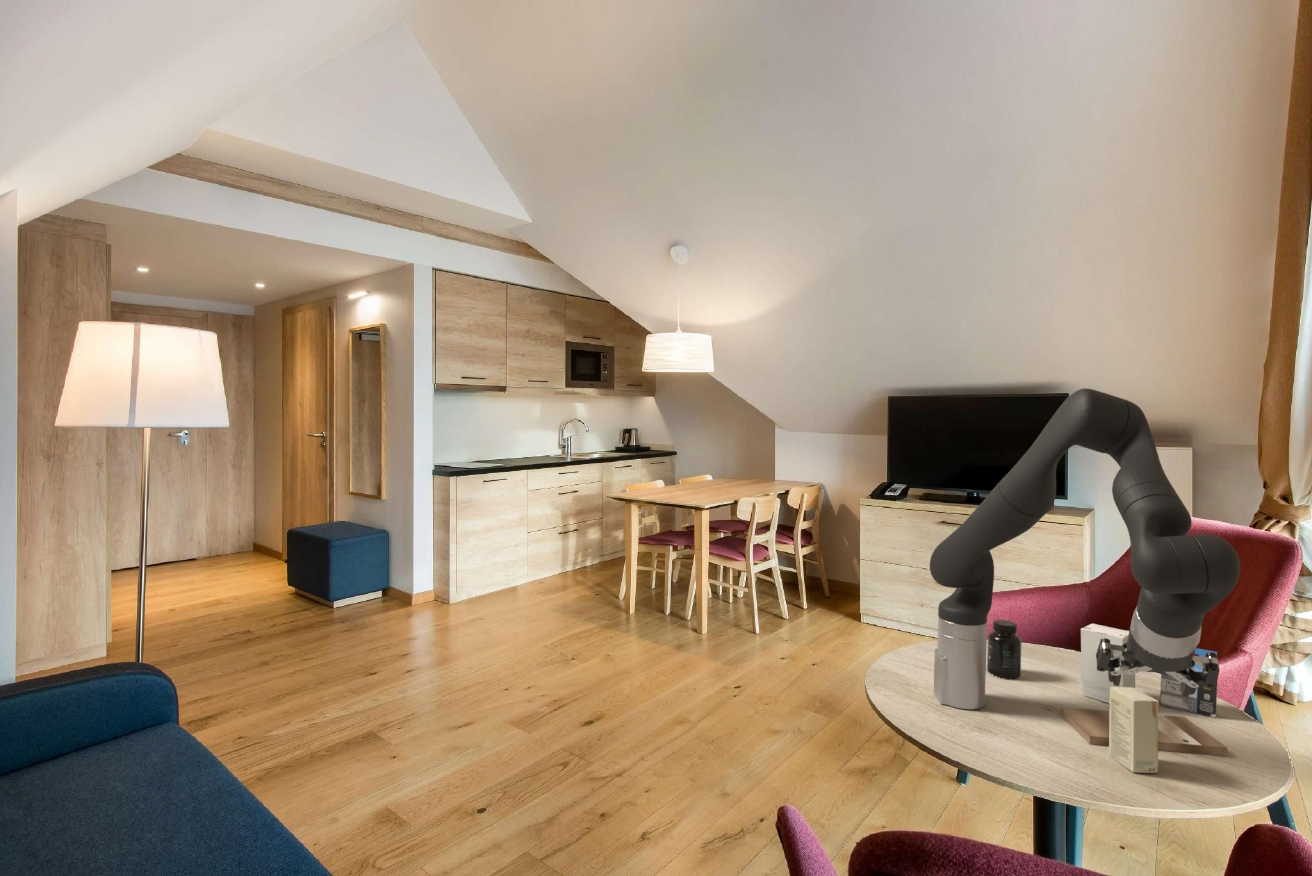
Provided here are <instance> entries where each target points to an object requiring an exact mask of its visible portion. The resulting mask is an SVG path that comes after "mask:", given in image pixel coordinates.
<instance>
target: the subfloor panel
mask: <svg viewBox="0 0 1312 876" xmlns="http://www.w3.org/2000/svg"><path fill="white" fill-rule="evenodd" d="M1060 716H1062V718H1063V719H1064V720H1065V721H1066V722H1067V723H1069V725H1070V726H1071V727H1072V728H1073V730H1075V731H1076V732H1077V733H1078V734H1079V735H1080V736H1081V737H1082V738H1083V739H1084V740H1085V741H1086V743H1088V744H1089V745H1095V746H1108V747H1109V710H1101V709H1093V708H1092V709H1090V708H1089V709H1088V708H1080V707H1079V708H1077V707H1076V708H1075V707H1067V706H1066V707H1063V706H1060ZM1158 751H1165V752H1175V753H1176V752H1177V753H1187V754H1199V755H1200V754H1201V755H1209V754H1212V755H1211V756H1220V755H1227V756H1228V747H1227V746H1226V745H1224V744H1223V743H1222V742H1220V741H1218V739H1216V738H1215V737H1213V736H1212V735H1210V734H1209V733H1208V732H1206V731H1205V730H1203V729H1202V728H1201V727H1200V726H1198V725H1196V724H1195V723H1194V722H1193V721H1192V720H1190V719H1188V718H1187V717H1185V716H1178V715H1167V714H1166V715H1165V714H1160V713H1158Z"/></svg>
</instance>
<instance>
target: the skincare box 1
mask: <svg viewBox="0 0 1312 876" xmlns="http://www.w3.org/2000/svg"><path fill="white" fill-rule="evenodd" d="M1129 631H1130V630H1124V629H1119V628H1115V627H1110V626H1106V625H1100V624H1096V623H1090V624H1088V625H1086V626H1084V627H1082V628H1080V650H1081V651H1080V654H1081V655H1080V658H1081V659H1080V660H1081V661H1080V663H1081V695H1082V696H1084V697H1087V698H1091V699H1094V700H1097V701H1099V702H1104V703H1106V704H1110V687H1133V688H1135V689H1136V673H1135V674H1132V675H1129V674H1127V673H1125V674H1122V675H1121V680H1120V684H1119V686H1114V685H1113V682H1110V681H1109V678H1108V671H1107V670H1106V671H1104V672H1102V671H1098V670H1097V658H1096V653H1097V650H1098V646H1099V643H1100V640H1101V639H1102V638H1106V639H1109V640H1110V644H1114V645H1120V646H1122V645H1123V644H1124V643H1126V642H1127V640H1128V635H1129ZM1118 655H1119V654H1118ZM1116 656H1117V655H1116ZM1132 665H1133V664H1132ZM1120 666H1121V663H1120Z"/></svg>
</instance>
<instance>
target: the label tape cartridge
mask: <svg viewBox="0 0 1312 876" xmlns="http://www.w3.org/2000/svg"><path fill="white" fill-rule="evenodd" d="M1208 652H1212V653H1215V654H1217V655H1218V652H1217V651H1214V650H1208V649H1201V648H1197V647H1196V650H1195V653H1194V655H1197V656H1201V657H1202V656H1204V657H1205V655H1206V653H1208ZM1193 668H1194V669H1195V670H1196V671H1197V672H1202V669H1200V667H1199V666H1198V665H1194V667H1193ZM1218 679H1219V678H1218ZM1218 679H1217V682H1218ZM1180 683H1181V682H1179V681H1178V680H1177V679H1175V678H1174V677H1173V676H1171V675H1165V674H1160V693H1159V695H1160V697H1159V699H1160V702H1159V703H1160V706H1163V707H1167V708H1171V709H1172V708H1173V709H1175V710H1176V709H1177V710H1181V711H1185V712H1190V713H1194V714H1198V715H1203V716H1206V715H1207V716H1206V717H1210V716H1211V718H1214V717H1216V718H1217V706H1218V705H1217V701H1218V683H1217V684H1216V687H1215V688H1207V687H1205V685H1199V687H1198V688H1196V691H1195V694H1193V695H1190V694H1189V696H1188V697H1183V696H1182V694H1181V687H1180Z"/></svg>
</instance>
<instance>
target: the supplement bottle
mask: <svg viewBox="0 0 1312 876" xmlns="http://www.w3.org/2000/svg"><path fill="white" fill-rule="evenodd" d="M992 630H993V631H991V632H989V634H987V652H986V671H987V672H988V673H989V674H990V673H991V674H993V675H994V676H993V675H992V676H993V677H995V676H997V677H996V678H998V677H1000V678H999V679H1002V678H1005V679H1004V680H1010V679H1012V680H1017V679H1019V678H1020V677H1021V674H1022V673H1021V672H1022V671H1021V670H1022V669H1021V668H1022V639H1021V637H1020V636H1018V635H1017V633H1018V624H1017V623H1015V622H1014V621H1010V620H1006V619H995V620H993V622H992ZM991 674H990V675H991Z"/></svg>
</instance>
